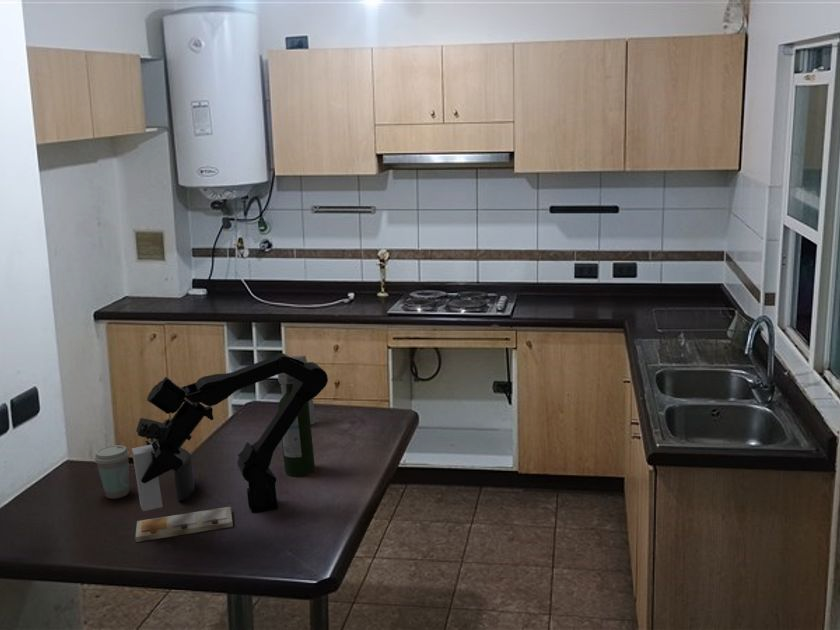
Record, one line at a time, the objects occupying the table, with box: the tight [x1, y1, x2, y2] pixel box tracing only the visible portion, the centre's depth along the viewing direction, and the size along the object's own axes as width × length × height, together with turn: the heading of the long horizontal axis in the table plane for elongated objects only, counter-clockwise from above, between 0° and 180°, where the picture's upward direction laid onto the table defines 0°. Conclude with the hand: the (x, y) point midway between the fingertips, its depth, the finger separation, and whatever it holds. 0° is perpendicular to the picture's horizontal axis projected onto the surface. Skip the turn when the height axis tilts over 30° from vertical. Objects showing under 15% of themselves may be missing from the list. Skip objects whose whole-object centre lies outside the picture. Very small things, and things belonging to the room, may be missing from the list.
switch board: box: [134, 506, 234, 543], centre depth 231 cm, size 22×9×2 cm, turn 103°
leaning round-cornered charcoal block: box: [173, 447, 196, 502], centre depth 251 cm, size 16×5×9 cm, turn 15°
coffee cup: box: [94, 444, 130, 499], centre depth 251 cm, size 9×9×12 cm
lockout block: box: [131, 445, 164, 512], centre depth 227 cm, size 4×4×14 cm
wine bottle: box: [277, 374, 316, 477], centre depth 256 cm, size 8×8×30 cm
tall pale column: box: [277, 355, 316, 426], centre depth 291 cm, size 11×4×22 cm, turn 118°
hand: (141, 478), depth 226 cm, fingers closed on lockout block, 4 cm apart
